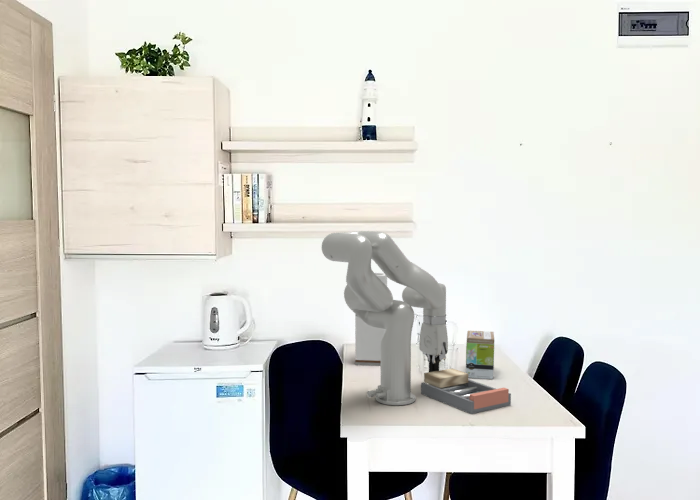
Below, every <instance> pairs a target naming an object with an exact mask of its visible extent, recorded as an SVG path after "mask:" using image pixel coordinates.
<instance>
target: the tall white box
mask: <svg viewBox="0 0 700 500" xmlns="http://www.w3.org/2000/svg"><path fill="white" fill-rule="evenodd" d="M374 273H375V275H376V276H377V277H378V278H379V279H380V280H381V281H382V282H383V283H384V284H385V285H386V286H387V287H388V277H387V276H386V275H385V273H384V272H374ZM354 315H355V319H354V320H355V323H354V324H355V325H354V326H355V329H354V330H355V334H354V335H355V337H354V338H355V346H354V347H355V351H354V353H355V358H354V359H355V366H370V367H373V366H374V367H381V341H382V338H383V336H384V334H385V332H386V329H382V328H377V327H372V326H370V325H368V324H366V323H365V322H364V321H363V320H362V319H360V318H359V317H358V316H357V315H356V314H355V313H354Z"/></svg>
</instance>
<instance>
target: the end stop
mask: <svg viewBox="0 0 700 500" xmlns="http://www.w3.org/2000/svg"><path fill="white" fill-rule="evenodd" d="M509 390H510V389H509V388H506V387H500V388H495V389H494V390H489V391H484V392H479V393H474V394H470V400H472V401H474V409H479V408H483V407H488V406H492V405H497V404H501V403H506V402H508V396H509V393H510V392H509Z"/></svg>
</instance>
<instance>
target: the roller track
mask: <svg viewBox="0 0 700 500" xmlns="http://www.w3.org/2000/svg"><path fill="white" fill-rule="evenodd" d="M467 384H468V388H470V387H475V386H477V387H478V389H479V391H478V392H480V391H485V390H488V391H489V390H494V389H496V387H492V386H489V385H487V384H483V383H480V382H478V381H474V380H472V379H469V378H468V383H467ZM420 388H421V389H420V390H421V395H424V396H426V397H428V398H431V399H434V400H436V401H438V402H441V403H444V404H445V405H448V406H450V407H453V408H455V409H458V410H461V411H463V412H465V413H467V414H471V415H473V414H478V413H482V412H487V411H491V410H495V409H500V408H505V407H508V406H511V405H512V393H510V392H509V396H508V402H506V403H501V404H497V405H492V406H488V407H483V408H479V409H474V401H472V400H469V399H466V398H464V397H461V395H460V396H458V395H456V394H453V393H450V392H448V391H445V390H442V389H440V388H437V387H435V386H432V385H429V384H428V383H425V382H421V384H420Z"/></svg>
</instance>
